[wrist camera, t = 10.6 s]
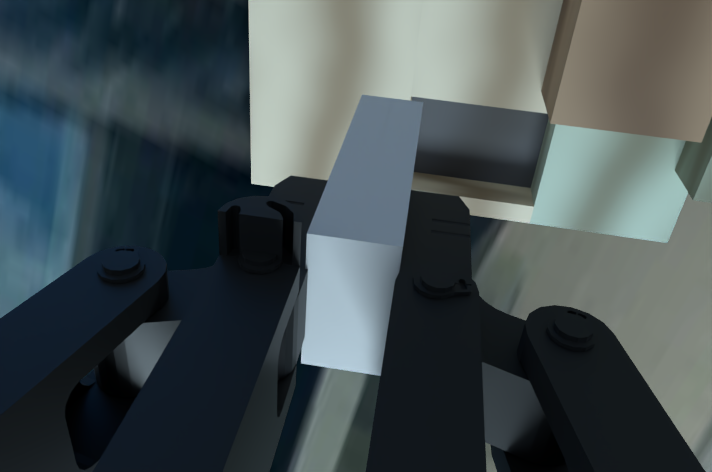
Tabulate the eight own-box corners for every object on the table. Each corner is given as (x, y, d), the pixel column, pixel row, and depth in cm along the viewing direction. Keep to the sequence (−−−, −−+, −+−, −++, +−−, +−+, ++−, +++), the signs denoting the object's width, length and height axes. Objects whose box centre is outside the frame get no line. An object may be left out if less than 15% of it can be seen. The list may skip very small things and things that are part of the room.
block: (541, 91, 29) (550, 123, 26) (574, -49, 26) (590, -33, 23) (674, 107, 29) (701, 142, 25) (725, -33, 25) (764, -15, 22)
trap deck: (264, 164, 36) (233, 210, 32) (262, -280, 25) (216, -308, 21) (655, 218, 34) (684, 276, 30) (832, -238, 24) (920, -258, 19)
